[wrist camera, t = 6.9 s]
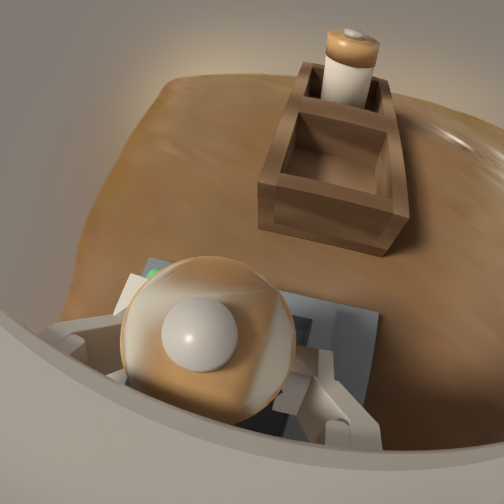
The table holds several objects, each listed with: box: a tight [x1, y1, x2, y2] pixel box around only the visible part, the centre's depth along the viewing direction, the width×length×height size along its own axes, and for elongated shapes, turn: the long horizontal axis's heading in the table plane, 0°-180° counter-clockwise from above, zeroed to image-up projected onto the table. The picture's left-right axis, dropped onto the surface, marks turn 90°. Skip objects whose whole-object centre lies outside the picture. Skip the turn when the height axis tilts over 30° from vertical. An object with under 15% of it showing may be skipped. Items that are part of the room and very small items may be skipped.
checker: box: [106, 257, 379, 443], centre depth 13 cm, size 10×14×4 cm
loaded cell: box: [320, 29, 380, 109], centre depth 20 cm, size 4×4×9 cm
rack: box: [257, 62, 409, 257], centre depth 20 cm, size 18×8×4 cm, turn 164°
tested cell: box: [120, 256, 296, 425], centre depth 10 cm, size 4×4×9 cm
